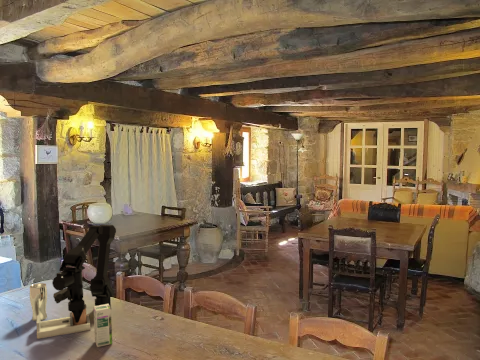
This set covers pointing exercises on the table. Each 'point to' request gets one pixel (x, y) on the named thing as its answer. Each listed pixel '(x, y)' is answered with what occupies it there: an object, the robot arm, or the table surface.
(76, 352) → the table surface
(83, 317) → the terracotta jar
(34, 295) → the beer glass
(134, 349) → the table surface
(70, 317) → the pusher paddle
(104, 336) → the syrup box
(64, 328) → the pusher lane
